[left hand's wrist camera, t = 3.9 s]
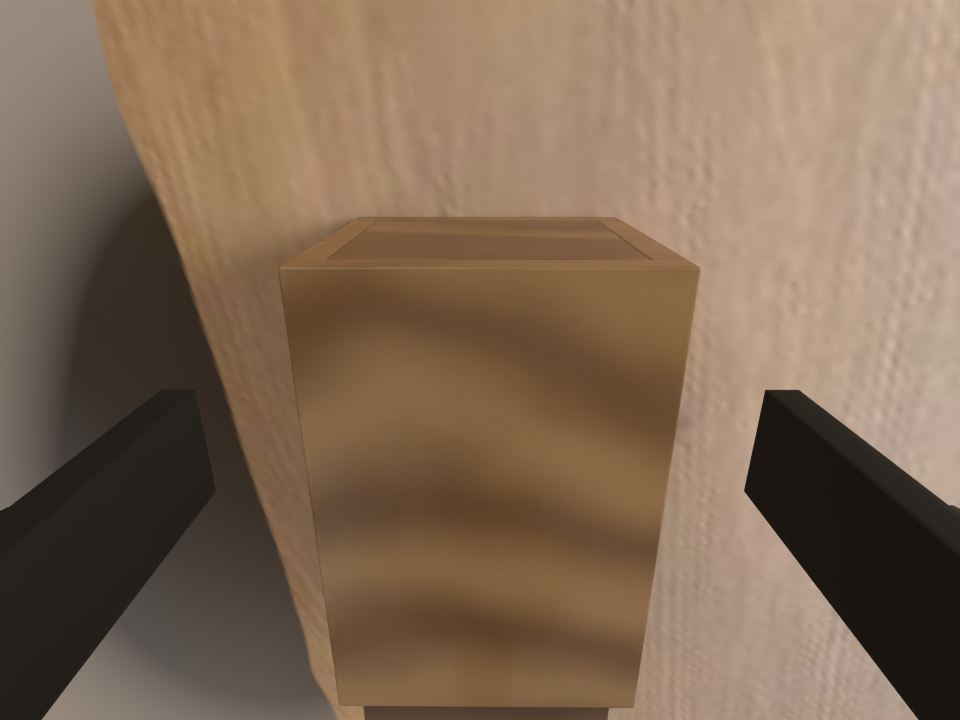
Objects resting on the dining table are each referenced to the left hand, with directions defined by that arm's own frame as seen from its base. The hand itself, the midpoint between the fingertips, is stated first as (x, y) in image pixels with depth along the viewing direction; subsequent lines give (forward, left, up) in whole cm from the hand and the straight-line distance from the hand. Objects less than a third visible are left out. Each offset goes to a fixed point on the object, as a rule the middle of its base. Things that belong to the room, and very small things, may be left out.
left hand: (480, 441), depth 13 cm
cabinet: (+5, 0, -13) cm, 14 cm away
